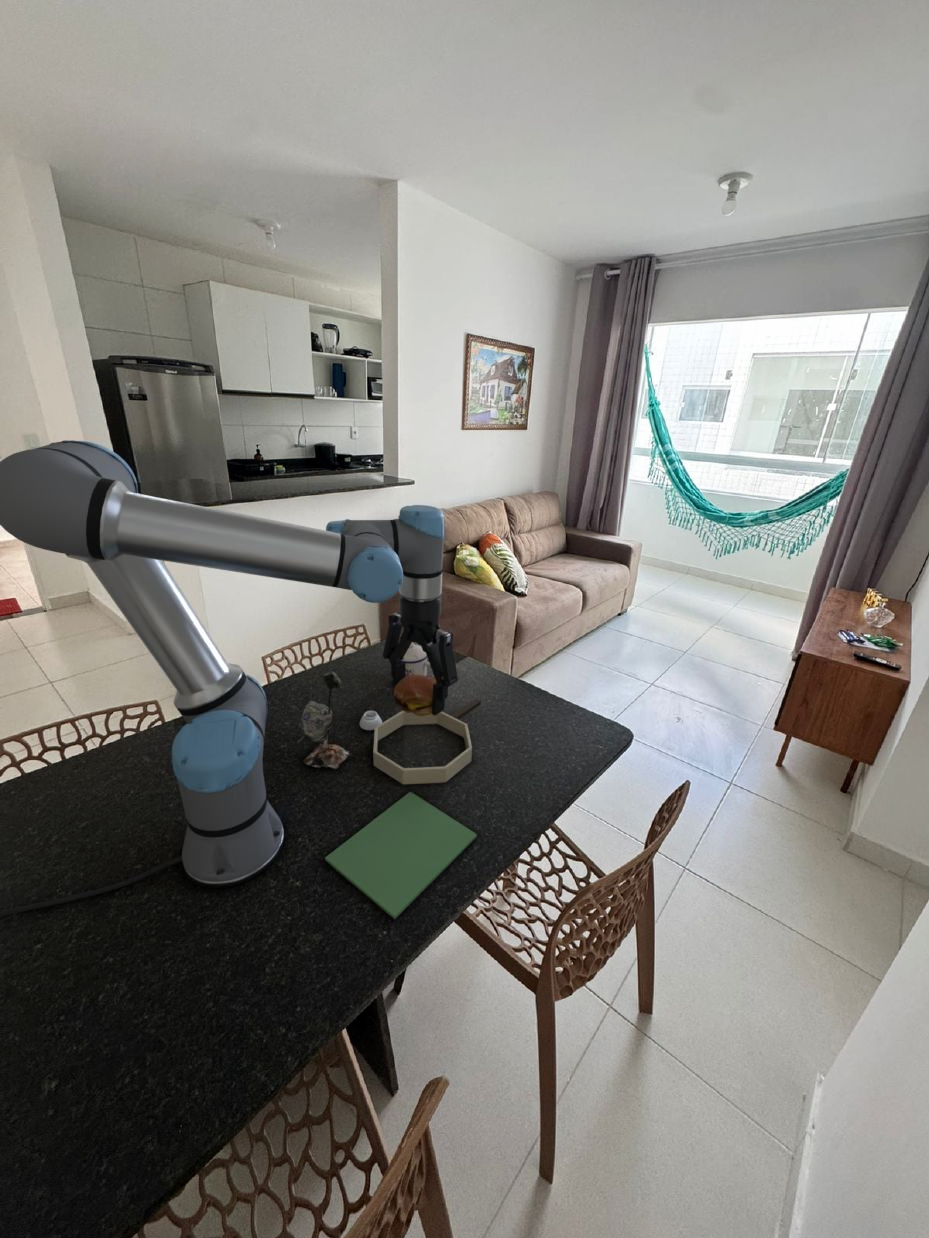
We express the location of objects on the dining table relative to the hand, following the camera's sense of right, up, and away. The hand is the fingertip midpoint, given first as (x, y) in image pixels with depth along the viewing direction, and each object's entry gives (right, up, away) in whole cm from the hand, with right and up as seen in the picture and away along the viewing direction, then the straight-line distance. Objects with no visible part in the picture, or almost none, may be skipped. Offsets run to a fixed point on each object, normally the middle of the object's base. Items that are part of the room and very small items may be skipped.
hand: (418, 702), depth 100 cm
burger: (0, 0, 0) cm, 1 cm away
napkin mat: (-1, -22, -13) cm, 26 cm away
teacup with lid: (-4, -1, +35) cm, 35 cm away
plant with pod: (-20, -13, +7) cm, 25 cm away
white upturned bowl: (-12, -8, +18) cm, 23 cm away
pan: (+3, -11, +14) cm, 18 cm away
